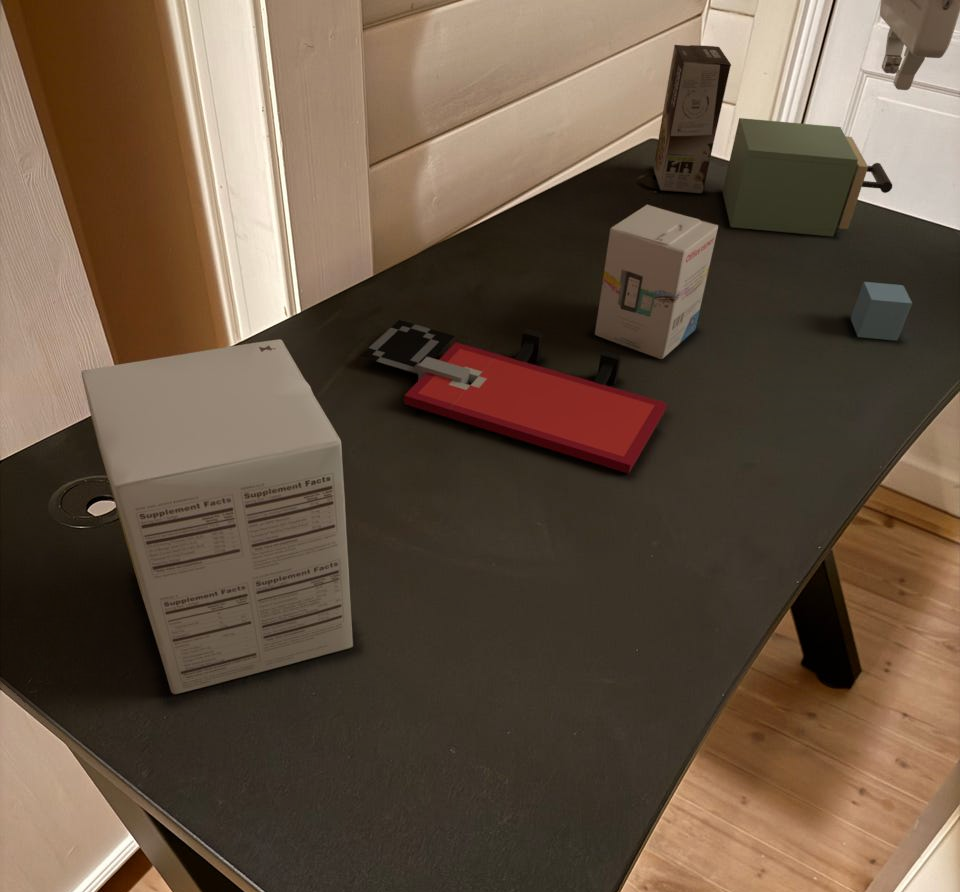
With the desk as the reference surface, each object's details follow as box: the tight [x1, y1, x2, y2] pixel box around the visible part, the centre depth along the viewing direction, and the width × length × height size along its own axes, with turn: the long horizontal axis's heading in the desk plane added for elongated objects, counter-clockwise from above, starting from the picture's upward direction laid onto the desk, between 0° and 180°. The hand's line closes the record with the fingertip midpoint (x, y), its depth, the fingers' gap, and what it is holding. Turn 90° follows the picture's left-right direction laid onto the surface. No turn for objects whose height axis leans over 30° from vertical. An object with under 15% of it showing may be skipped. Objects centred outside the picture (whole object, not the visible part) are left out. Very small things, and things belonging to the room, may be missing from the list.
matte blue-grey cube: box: [850, 281, 913, 342], centre depth 104 cm, size 4×4×4 cm
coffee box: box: [653, 44, 732, 194], centre depth 129 cm, size 9×6×16 cm
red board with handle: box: [359, 319, 668, 475], centre depth 91 cm, size 30×3×15 cm
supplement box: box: [81, 339, 354, 695], centre depth 63 cm, size 13×13×18 cm
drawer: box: [837, 135, 893, 230], centre depth 125 cm, size 17×11×8 cm
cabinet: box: [721, 117, 858, 237], centre depth 125 cm, size 14×13×10 cm
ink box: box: [594, 204, 719, 360], centre depth 98 cm, size 8×8×12 cm
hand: (894, 80), depth 116 cm, fingers open, 5 cm apart
